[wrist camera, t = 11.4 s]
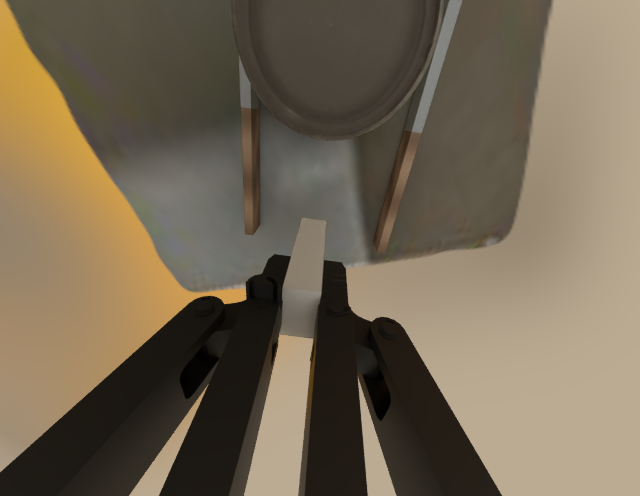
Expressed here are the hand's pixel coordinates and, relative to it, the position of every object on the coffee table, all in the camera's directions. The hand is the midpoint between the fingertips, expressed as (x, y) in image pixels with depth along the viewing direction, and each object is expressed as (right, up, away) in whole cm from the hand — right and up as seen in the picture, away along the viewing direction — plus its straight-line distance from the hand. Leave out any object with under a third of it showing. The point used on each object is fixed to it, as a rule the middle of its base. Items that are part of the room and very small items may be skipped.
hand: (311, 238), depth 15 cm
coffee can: (+2, +17, +9) cm, 20 cm away
